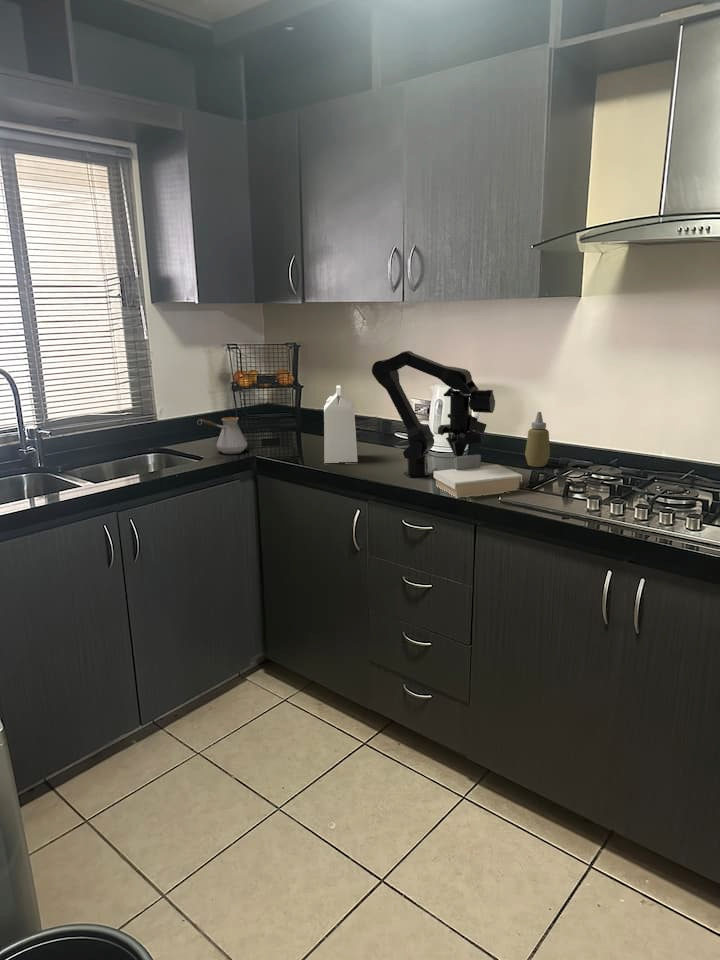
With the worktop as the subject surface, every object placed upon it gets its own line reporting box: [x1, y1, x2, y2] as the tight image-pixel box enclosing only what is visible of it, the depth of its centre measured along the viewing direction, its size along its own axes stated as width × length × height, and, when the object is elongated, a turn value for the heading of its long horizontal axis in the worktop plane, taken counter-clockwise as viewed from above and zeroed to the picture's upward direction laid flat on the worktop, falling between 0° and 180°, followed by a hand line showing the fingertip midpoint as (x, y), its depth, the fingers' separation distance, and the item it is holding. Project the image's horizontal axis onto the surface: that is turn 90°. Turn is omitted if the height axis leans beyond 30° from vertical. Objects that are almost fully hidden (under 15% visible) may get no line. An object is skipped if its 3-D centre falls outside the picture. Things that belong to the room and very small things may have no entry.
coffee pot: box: [197, 416, 248, 455], centre depth 255 cm, size 21×12×15 cm, turn 146°
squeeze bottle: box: [524, 411, 551, 468], centre depth 228 cm, size 8×8×18 cm
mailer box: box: [435, 478, 520, 499], centre depth 203 cm, size 14×20×4 cm
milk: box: [323, 385, 359, 464], centre depth 241 cm, size 12×12×26 cm
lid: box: [433, 454, 523, 489], centre depth 202 cm, size 14×22×6 cm
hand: (458, 461), depth 213 cm, fingers closed
